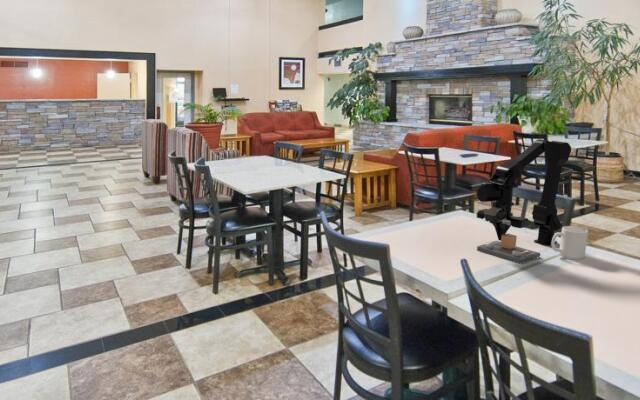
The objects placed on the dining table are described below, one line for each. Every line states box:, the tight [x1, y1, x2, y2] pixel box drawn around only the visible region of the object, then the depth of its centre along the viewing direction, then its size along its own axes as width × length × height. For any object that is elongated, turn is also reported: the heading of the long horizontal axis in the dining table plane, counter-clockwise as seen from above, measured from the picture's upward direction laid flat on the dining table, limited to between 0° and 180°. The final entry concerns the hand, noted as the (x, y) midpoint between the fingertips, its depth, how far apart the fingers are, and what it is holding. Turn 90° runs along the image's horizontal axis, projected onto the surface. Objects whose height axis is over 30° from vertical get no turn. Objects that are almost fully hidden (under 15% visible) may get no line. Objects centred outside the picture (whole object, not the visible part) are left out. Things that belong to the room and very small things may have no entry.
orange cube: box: [500, 233, 518, 249], centre depth 181 cm, size 4×4×4 cm
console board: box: [476, 240, 541, 264], centre depth 180 cm, size 12×18×3 cm, turn 37°
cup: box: [550, 225, 589, 261], centre depth 177 cm, size 8×12×10 cm
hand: (500, 240), depth 184 cm, fingers closed
